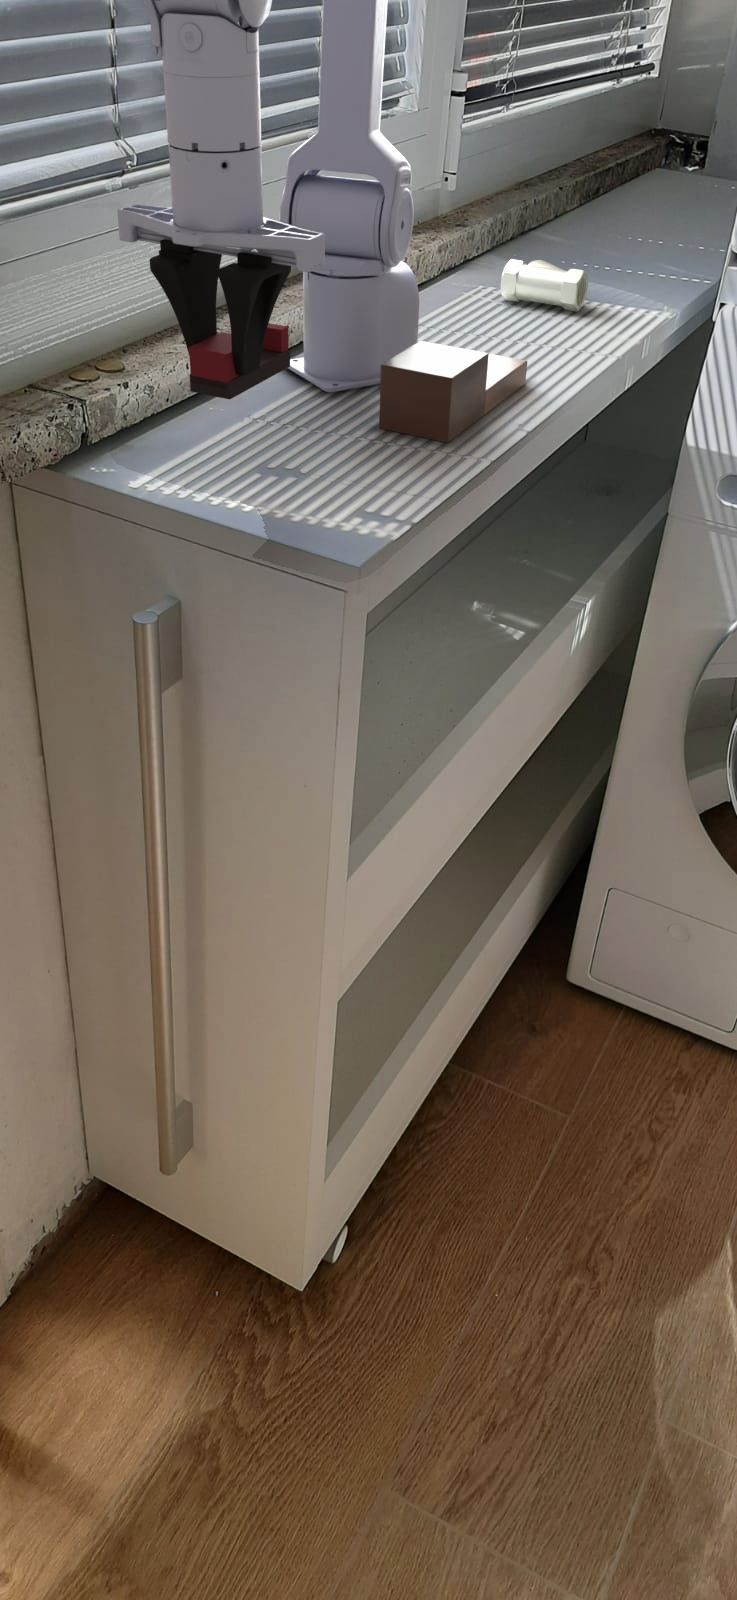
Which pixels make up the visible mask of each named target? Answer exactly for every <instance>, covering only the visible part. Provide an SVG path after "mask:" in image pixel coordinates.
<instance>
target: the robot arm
mask: <svg viewBox="0 0 737 1600" xmlns="http://www.w3.org/2000/svg"><path fill="white" fill-rule="evenodd" d="M142 2H143V3H142V4H143V6H144V8H145V11H146V13H147V15H148V19H149V23H150V32H151V33H150V34H151V45H152V47H154V54H155V55H156V56H157V57H159V58H161V59H162V72H163V86H164V100H165V102H164V103H165V116H166V117H165V118H166V133H167V143H168V144H167V145H168V146H167V147H168V161H169V176H170V192H171V207H170V206H156V205H147V204H146V205H145V204H138V203H134V204H130V205H126V206H124V207H121V208H118V209H117V210H116V213H117V224H118V225H117V226H118V235H119V241H120V242H128V243H136V242H138V241H141V242H145V243H152V244H158V245H159V246H160V247H159V248H160V249H159V250H158V255H157V254H156V255H155V256H152V257H151V258H150V259H149V269H150V272H151V273H152V275H153V277H154V278H155V279H156V280H157V282H158V284H159V286H160V287H161V289H162V290H163V292H164V294H165V296H166V298H167V300H168V301H169V304H170V306H171V308H172V309H173V313H174V315H175V317H176V320H177V322H178V325H179V328H180V330H181V335H182V337H183V340H184V342H185V346H186V349H187V353H188V354H189V347H191V346H193V345H195V344H197V343H199V342H201V341H203V340H206V339H208V338H210V337H212V336H214V335H216V334H218V325H217V324H218V323H217V295H218V284H219V283H220V285H221V288H222V291H223V295H224V299H225V302H226V303H225V304H226V308H227V313H228V319H229V326H230V334H231V343H232V356H233V362H234V367H235V372H236V374H237V375H242V376H245V375H247V374H249V373H251V372H253V371H254V370H256V369H258V368H259V365H260V359H261V353H262V348H263V343H264V339H265V335H266V331H267V327H268V323H270V320H271V316H272V315H273V314H272V313H273V311H274V309H275V305H276V303H277V301H278V298H279V296H280V294H281V291H282V289H283V287H284V285H285V283H286V281H287V280H288V277H289V275H290V274H291V272H292V267H294V268H295V270H296V271H299V272H302V325H303V327H302V328H303V329H302V330H303V331H302V332H303V335H302V336H303V337H302V338H303V357H298V358H293V359H290V367H288V368H287V369H288V370H290V371H292V372H293V373H294V374H296V375H298V376H299V377H301V378H303V379H304V380H306V381H308V382H309V383H311V384H313V385H314V386H316V387H317V388H320V389H321V390H323V391H324V392H326V393H336V392H341V391H347V390H353V389H359V388H364V387H369V386H370V387H371V386H374V385H380V381H381V364H383V363H384V362H386V361H388V360H389V359H391V358H393V357H394V356H396V355H398V354H399V353H401V352H403V351H404V350H406V349H408V348H409V347H411V346H413V345H414V344H416V343H418V342H419V340H418V339H419V324H420V323H419V322H420V321H419V320H420V292H419V287H418V282H417V279H416V276H415V274H414V272H413V270H412V269H411V268H410V266H409V265H408V264H407V263H406V262H404V261H403V260H404V259H405V257H406V256H407V254H408V252H409V249H410V245H411V241H412V236H413V228H414V201H413V195H412V182H413V181H412V180H413V179H412V178H413V173H412V170H411V169H412V167H411V164H410V163H409V161H408V160H407V159H406V157H405V156H403V154H402V153H401V152H400V151H399V150H398V149H397V148H396V147H395V146H394V145H393V144H392V143H391V142H390V141H389V140H388V138H386V137H385V136H384V135H383V133H382V132H381V116H382V115H381V114H382V100H383V99H382V97H383V81H384V65H385V49H386V32H387V31H386V30H387V19H388V17H387V15H388V0H322V14H321V15H322V17H321V19H322V20H321V40H320V41H321V43H320V66H319V67H320V71H319V94H318V95H319V96H318V119H317V120H318V121H317V122H318V123H317V125H318V126H317V132H315V134H313V136H311V137H310V138H309V139H307V140H306V141H304V142H303V143H302V144H300V146H298V147H297V148H296V149H295V150H294V151H293V152H292V153H291V154H290V155H289V157H288V160H287V164H286V173H285V182H284V188H283V192H282V195H281V198H280V199H281V200H280V206H279V221H277V220H275V219H271V218H269V217H264V195H263V194H264V192H263V155H262V152H263V151H262V117H261V80H260V79H261V78H260V74H261V73H260V72H261V71H260V41H259V40H260V37H259V33H260V32H259V27H261V26H262V24H264V22H265V20H266V19H267V18H268V17H269V15H270V12H271V9H272V6H273V5H272V4H273V0H142ZM322 171H326V172H334V173H335V172H336V173H347V174H356V175H357V174H358V175H367V176H370V177H373V178H374V179H376V180H374V179H373V180H372V179H362V178H352V177H343V176H341V177H340V176H328V175H320V173H321V172H322ZM223 255H224V256H229V257H235V258H236V262H232V263H230V264H227V265H225V266H222V267H221V263H222V257H223Z"/></svg>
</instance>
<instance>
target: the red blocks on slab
mask: <svg viewBox="0 0 737 1600" xmlns="http://www.w3.org/2000/svg"><path fill="white" fill-rule="evenodd" d="M289 341H290V339H289V326H287V325H282V324H277V323H270V322H269V323H268V327H267V331H266V335H265V339H264V343H263V348H262V353H261V359H260V365H259V368H258V369H256V370H254V371H253V372H251V373H249V374H247V375H245V376H242V375H237V374H236V372H235V367H234V362H233V356H232V343H231V332H225V331H220V332H219V333H218V332H217V334H216V335H214V336H212V337H210V338H208V339H206V340H203V341H201V342H199V343H197V344H195V345H193V346H191V347H189V353H188V356H189V368H190V373H189V375H188V376H189V387H190V392H191V393H196V394H200V395H201V394H202V395H206V396H209V397H210V396H211V397H214V398H220V399H225V400H232V399H234V398H235V397H237V396H239V395H241V394H243V393H245V392H246V391H249V390H250V389H252V388H254V387H256V386H257V385H259V384H261V383H263V382H264V381H266V380H268V379H270V378H272V377H273V376H275V375H278V374H279V373H281V372H283V371H284V370H286V369H288V367H290V360H291V350H290V349H289V348H290V347H289V346H290V345H289V343H290V342H289Z"/></svg>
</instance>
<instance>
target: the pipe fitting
mask: <svg viewBox="0 0 737 1600" xmlns="http://www.w3.org/2000/svg"><path fill="white" fill-rule="evenodd" d="M500 279H501V280H500V293H501V297H503V298H504V299H505V300H506V301H510V302H517V303H519V302H520V301H521V300H522V301H527V302H534V303H539V304H540V303H541V304H546V305H552V306H558V307H562V308H563V310H565V311H570V312H577V313H578V312H579V311H580V310H581V309H582V307H583V305H584V303H585V300H586V297H587V294H588V288H589V278H588V274H587V273H586V271H585V270H583V269H577V268H570V269H568V270H564V269H562V268H561V267H558V266H556V265H554V264H552V263H550V262H548V261H545V260H543V259H535V260H532V261H530V262H529V263H528V264H527V263H526V262H525V261H524V260H518V259H514V258H510V260H509V261H508V262H507V263H506V264H505V266H504V267H503V271H502V274H501V278H500Z"/></svg>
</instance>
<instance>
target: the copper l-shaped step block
mask: <svg viewBox="0 0 737 1600" xmlns="http://www.w3.org/2000/svg"><path fill="white" fill-rule="evenodd" d="M527 370H528V360H525V359H520V358H515V357H511V356H503V355H498V354H492V353H489V352H485V351H478V350H474V349H469V348H468V349H467V348H463V347H457V346H451V345H446V344H441V343H436V342H429V341H423V340H418V343H416V344H414V345H413V346H411V347H409V348H408V349H406V350H404V351H403V352H401V353H399V354H398V355H396V356H394V357H393V358H391V359H389V360H388V361H386V362H384V363H383V364H381V381H380V384H379V386H380V387H379V390H380V391H379V413H378V417H379V418H378V428H379V429H381V430H387V431H391V432H395V433H401V434H405V435H410V436H414V437H419V438H424V439H428V440H432V441H439V442H442V443H446V444H447V443H450V442H451V441H452V440H454V439H455V438H456V437H457V436H459V435H460V434H461V433H463V432H464V431H465V430H466V429H468V428H469V427H471V426H472V425H473V424H475V423H476V422H477V421H478V420H480V419H481V418H482V417H484V415H487V413H489V412H491V410H492V409H494V408H495V407H497V406H498V405H499V404H501V403H502V402H503V401H504V400H506V399H507V398H508V397H510V396H511V395H512V394H513V393H515V392H516V391H517V390H519V389H520V388H522V387H523V386H524V385H525V384H526V380H527Z"/></svg>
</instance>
